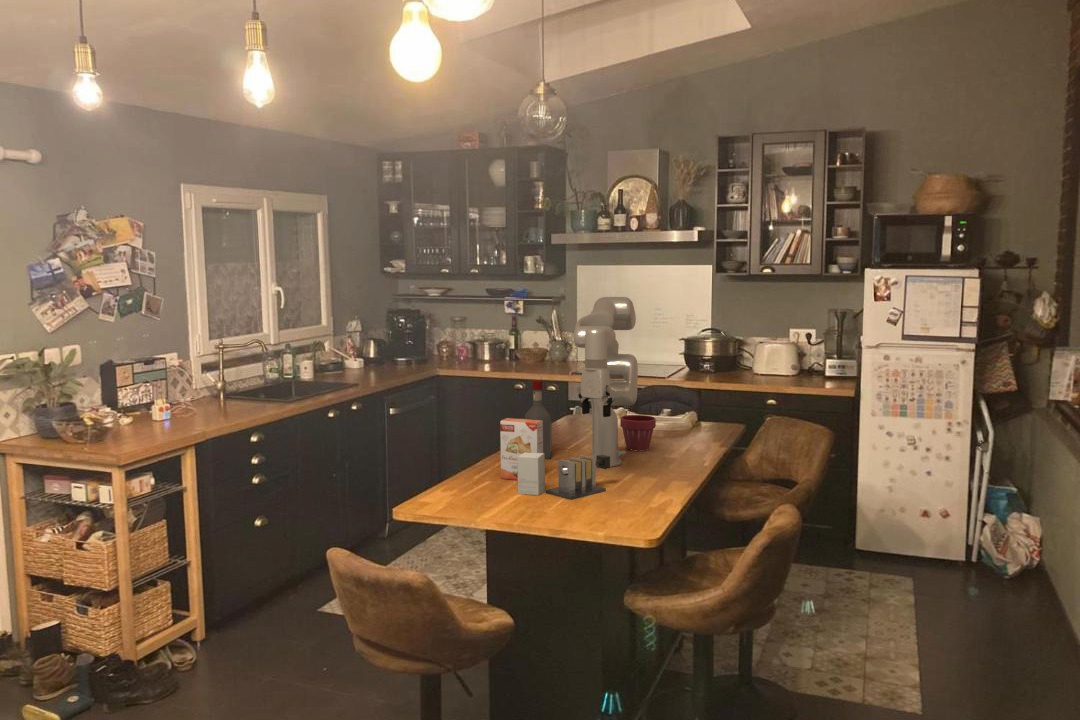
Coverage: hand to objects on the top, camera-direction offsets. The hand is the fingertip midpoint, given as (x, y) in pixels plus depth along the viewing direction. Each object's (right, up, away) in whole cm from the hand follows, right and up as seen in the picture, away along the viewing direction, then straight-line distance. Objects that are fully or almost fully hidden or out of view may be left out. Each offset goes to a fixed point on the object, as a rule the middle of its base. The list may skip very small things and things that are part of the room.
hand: (596, 415), depth 301 cm
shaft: (-4, -18, -6) cm, 20 cm away
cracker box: (-25, -23, +11) cm, 36 cm away
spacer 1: (-9, -21, -10) cm, 24 cm away
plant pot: (+21, -18, +60) cm, 65 cm away
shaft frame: (-8, -25, -8) cm, 27 cm away
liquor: (-20, -20, +44) cm, 52 cm away
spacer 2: (-5, -20, -6) cm, 22 cm away
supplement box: (-22, -25, -8) cm, 34 cm away
